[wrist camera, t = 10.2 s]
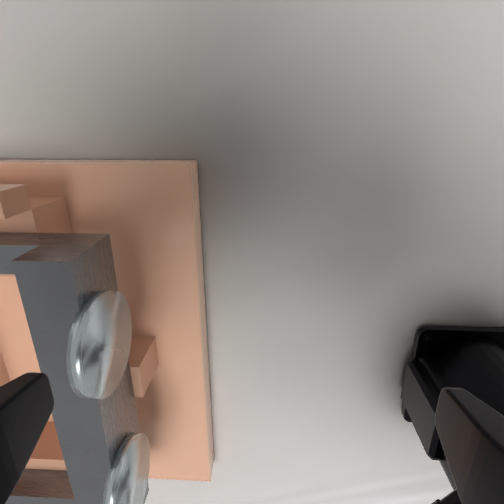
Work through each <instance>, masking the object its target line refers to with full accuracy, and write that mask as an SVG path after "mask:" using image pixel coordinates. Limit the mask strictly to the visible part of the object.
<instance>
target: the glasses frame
mask: <svg viewBox="0 0 504 504" xmlns="http://www.w3.org/2000/svg"><path fill="white" fill-rule="evenodd" d="M0 274H15V277H16V281H17V285H18V288H19V292H20V296H21V300H22V304H23V307H24V311H25V315H26V319H27V322H28V326H29V330H30V334H31V337H32V341H33V345H34V349H35V353H36V356H37V360H38V364H39V368H40V371H41V373H45V374H46V375H47V376H48V378H49V381H50V385H51V389H52V393H53V397H54V408H53V411H52V417H53V420H54V424H55V428H56V432H57V435H58V439H59V443H60V447H61V451H62V454H63V458H64V462H65V466H66V469H67V471H65V470H45V469H24V471H23V473H22V475H21V477H20V479H19V481H18V482H17V484H16V486H15V488H14V490H13V491H12V493H11V495H10V496H9V498H8V500H7V501H6V503H5V504H144V503H145V500H146V497H147V494H148V491H149V488H148V475H149V467H150V445H149V440H148V437H147V435H146V434H145V433H140V429H139V423H138V416H137V410H136V403H135V397H134V390H133V384H132V377H131V371H130V364H129V353H130V347H131V339H132V321H131V313H130V309H129V305H128V302H127V300H126V298H125V297H124V295H123V294H122V293H120V292H118V286H117V280H116V273H115V267H114V260H113V254H112V248H111V241H110V235H109V234H90V233H19V232H0Z"/></svg>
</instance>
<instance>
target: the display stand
mask: <svg viewBox="0 0 504 504" xmlns="http://www.w3.org/2000/svg"><path fill="white" fill-rule="evenodd" d="M0 232H19V233H90V234H109V235H110V241H111V248H112V254H113V260H114V267H115V273H116V280H117V286H118V292H120V293H122V294H123V295H124V297H125V298H126V300H127V302H128V305H129V309H130V313H131V321H132V339H131V347H130V353H129V364H130V371H131V377H132V384H133V390H134V397H135V403H136V410H137V416H138V423H139V429H140V433H145V434H146V435H147V437H148V440H149V445H150V467H149V475H148V478H156V479H175V480H194V481H211V475H212V469H213V463H214V452H213V434H212V416H211V398H210V380H209V362H208V344H207V326H206V309H205V291H204V273H203V255H202V237H201V219H200V201H199V183H198V165H197V160H0ZM29 372H35V373H41V371H40V368H39V364H38V360H37V356H36V353H35V349H34V345H33V341H32V337H31V334H30V330H29V326H28V322H27V319H26V315H25V311H24V307H23V304H22V300H21V296H20V292H19V288H18V285H17V281H16V277H15V274H0V386H2V385H4V384H6V383H8V382H10V381H12V380H14V379H16V378H17V377H19V376H21V375H23V374H25V373H29ZM25 469H45V470H65V471H67V469H66V466H65V462H64V458H63V454H62V451H61V447H60V443H59V439H58V435H57V432H56V428H55V424H54V420H53V417H52V413H51V415H50V418H49V420H48V422H47V424H46V426H45V428H44V430H43V432H42V434H41V436H40V438H39V440H38V443H37V445H36V447H35V449H34V451H33V453H32V455H31V457H30V459H29V461H28V463H27V465H26V467H25Z"/></svg>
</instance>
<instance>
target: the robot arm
mask: <svg viewBox="0 0 504 504" xmlns="http://www.w3.org/2000/svg"><path fill="white" fill-rule="evenodd" d="M426 334H430V335H429V336H428V337H424V336H425V335H426ZM401 399H402V401H403V405H402V414H403V417H404V419H405V420H406V421H408V422H412V423H413V425H414V427H415V429H416V432H417V434H418V436H419V438H420V440H421V443H422V445H423V447H424V449H425V451H426V454H427V455H428V456H429V457H430V458H431V459H432V460H439V461H440V463H441V465H442V467H443V469H444V471H445V473H446V475H447V477H448V479H449V482H450V484H451V486H452V488H453V490H454V491H452V492H451V493H450V494H448V495H447V496H446V497H444V498H443V499H442V500H439V499H437V500H436V501H435V502H433V503H432V504H504V328H495V327H460V326H422V327H420V328H419V329H418V330H417V332H416V337H415V342H414V347H413V353H412V358H411V360H410V361H409V362H408V363H407V366H406V371H405V377H404V382H403V387H402V393H401ZM53 408H54V397H53V393H52V389H51V385H50V381H49V378H48V376H47V375H46V374H45V373H35V372H29V373H25V374H23V375H21V376H19V377H17V378H16V379H14V380H12V381H10V382H8V383H6V384H4V385H2V386H0V504H5V503H6V501H7V500H8V498H9V496H10V495H11V493H12V491H13V490H14V488H15V486H16V484H17V482H18V481H19V479H20V477H21V475H22V473H23V471H24V469H25V467H26V465H27V463H28V461H29V459H30V457H31V455H32V453H33V451H34V449H35V447H36V445H37V443H38V440H39V438H40V436H41V434H42V432H43V430H44V428H45V426H46V424H47V422H48V420H49V418H50V415H51V413H52V411H53Z"/></svg>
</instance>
